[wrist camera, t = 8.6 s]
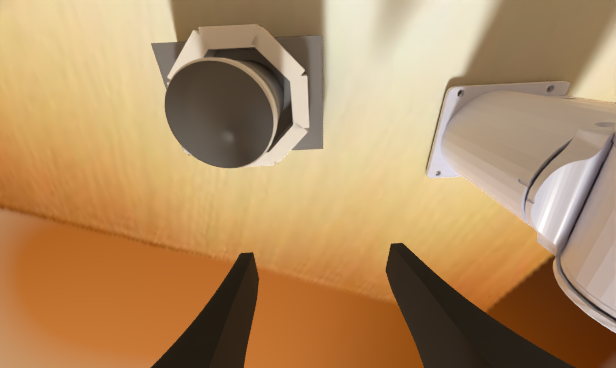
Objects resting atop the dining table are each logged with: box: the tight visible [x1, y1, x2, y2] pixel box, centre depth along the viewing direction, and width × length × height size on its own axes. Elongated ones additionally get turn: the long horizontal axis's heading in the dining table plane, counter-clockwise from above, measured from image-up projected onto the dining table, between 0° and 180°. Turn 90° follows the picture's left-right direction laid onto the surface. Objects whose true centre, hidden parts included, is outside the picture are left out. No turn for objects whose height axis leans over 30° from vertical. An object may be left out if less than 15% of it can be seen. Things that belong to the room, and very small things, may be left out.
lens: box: [165, 57, 284, 168], centre depth 12 cm, size 5×5×6 cm
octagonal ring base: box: [151, 24, 323, 167], centre depth 15 cm, size 10×8×4 cm
